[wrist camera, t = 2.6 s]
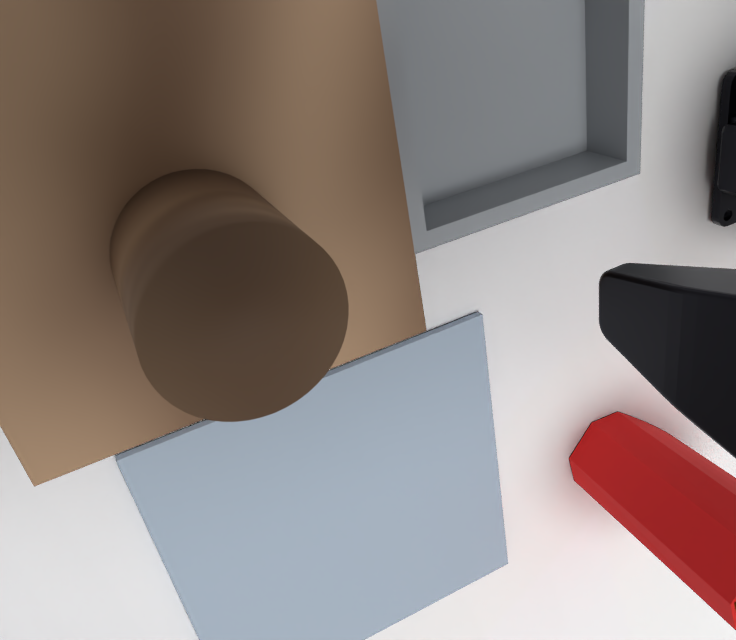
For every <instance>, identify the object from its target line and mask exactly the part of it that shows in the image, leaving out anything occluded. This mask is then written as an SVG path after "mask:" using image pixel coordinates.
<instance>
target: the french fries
mask: <svg viewBox="0 0 736 640" xmlns="http://www.w3.org/2000/svg"><path fill="white" fill-rule="evenodd" d="M569 460H570V465H571V469H572V474H573V478H574V481H575V482H576V483H578V484H579V485H580V486H581V487H582V488H583V489H584V490H585V491H586V492H587V493H588V494H589V495H591V496H592V497H593V498H594V499H595V500H596V501H597V502H598V503H599V504H600V505H601V506H602V507H603V508H605V509H606V510H607V511H608V512H609V513H610V514H611V515H612V516H613V517H614V518H615V519H616V520H617V521H619V522H620V523H621V524H622V525H623V526H624V527H625V528H626V529H627V530H628V531H629V532H630V533H631V534H633V535H634V536H635V537H636V538H637V539H638V540H639V541H640V542H641V543H642V544H643V545H644V546H645V547H647V548H648V549H649V550H650V551H651V552H652V553H653V554H654V555H655V556H656V557H657V558H658V559H660V560H661V561H662V562H663V563H664V564H665V565H666V566H667V567H668V568H669V569H670V570H671V571H672V572H674V573H675V574H676V575H677V576H678V577H679V578H680V579H681V580H682V581H683V582H684V583H685V584H686V585H688V586H689V587H690V588H691V589H692V590H693V591H694V592H695V593H696V594H697V595H698V596H699V597H700V598H702V599H703V600H704V601H705V602H706V603H707V604H708V605H709V606H710V607H711V608H712V609H713V610H714V611H716V612H717V613H718V614H719V615H720V616H721V617H722V618H723V619H724V620H725V621H726V622H727V623H729V624H730V625H731V626H732V627H733V628H734V629H735V630H736V478H735V477H733V476H732V475H730V474H729V473H727V472H726V471H724V470H723V469H721V468H720V467H718V466H717V465H715V464H714V463H712V462H711V461H709V460H708V459H706V458H705V457H703V456H702V455H700V454H699V453H697V452H696V451H694V450H693V449H691V448H690V447H688V446H687V445H685V444H684V443H682V442H681V441H679V440H678V439H676V438H675V437H673V436H671V435H670V434H668V433H667V432H665V431H663V430H661V429H659V428H657V427H655V426H653V425H651V424H649V423H647V422H645V421H642V420H640V419H637V418H634V417H632V416H629V415H626V414H623V413H620V412H616V413H613V414H611V415H609V416H606V417H604V418H601V419H599V420H597V421H594V422H592V423H591V424H590V426H589V428H588V429H587V431H586V432H585V434H584V436H583V437H582V439H581V440H580V442H579V443H578V445H577V447H576V448H575V450H574V451H573V453H572V454H571V456H570V458H569Z"/></svg>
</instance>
